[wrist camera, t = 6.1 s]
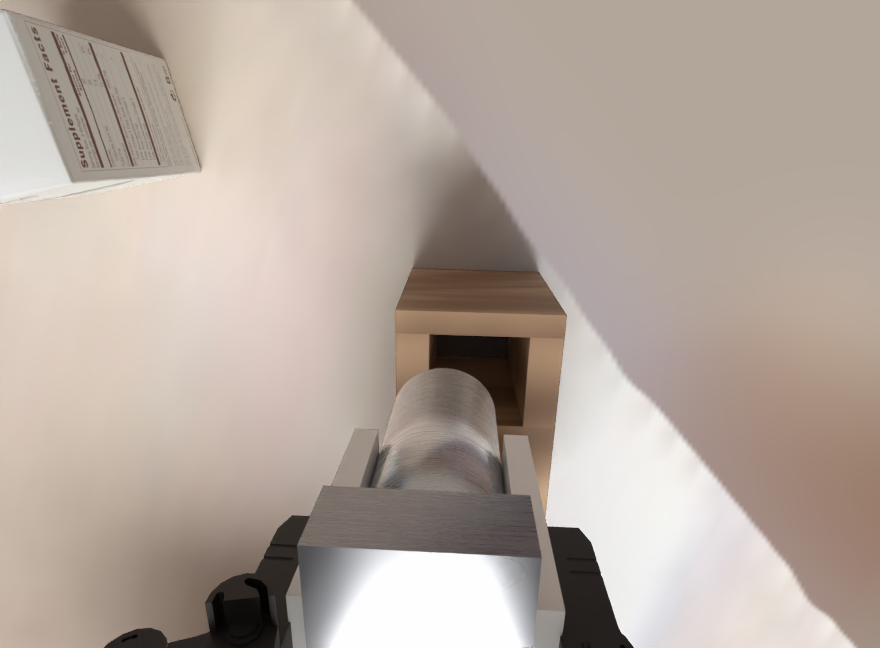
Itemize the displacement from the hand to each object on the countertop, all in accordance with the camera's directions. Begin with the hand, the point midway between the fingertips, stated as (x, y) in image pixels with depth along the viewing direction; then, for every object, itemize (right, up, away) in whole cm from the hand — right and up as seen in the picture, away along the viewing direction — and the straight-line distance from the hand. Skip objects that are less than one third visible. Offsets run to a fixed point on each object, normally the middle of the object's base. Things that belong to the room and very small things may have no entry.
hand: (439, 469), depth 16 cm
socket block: (+2, 0, +23) cm, 23 cm away
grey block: (0, +1, +3) cm, 4 cm away
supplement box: (-20, +18, +18) cm, 32 cm away
